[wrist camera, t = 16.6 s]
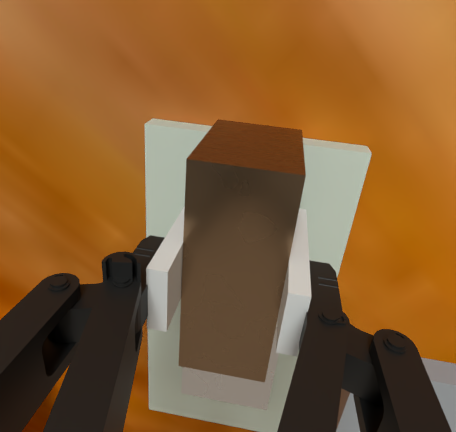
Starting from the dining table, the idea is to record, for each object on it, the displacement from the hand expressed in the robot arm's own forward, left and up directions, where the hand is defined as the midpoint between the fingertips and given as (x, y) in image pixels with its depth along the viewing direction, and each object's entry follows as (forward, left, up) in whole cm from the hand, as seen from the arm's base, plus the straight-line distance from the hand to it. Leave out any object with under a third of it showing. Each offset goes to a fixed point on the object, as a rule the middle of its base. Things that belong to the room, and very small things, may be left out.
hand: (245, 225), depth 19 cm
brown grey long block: (0, -5, -1) cm, 5 cm away
